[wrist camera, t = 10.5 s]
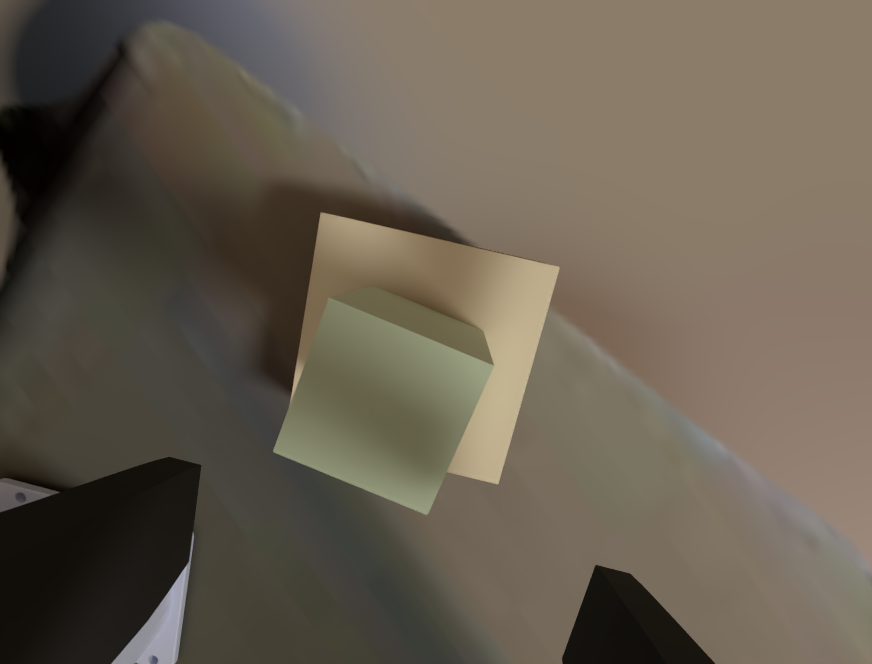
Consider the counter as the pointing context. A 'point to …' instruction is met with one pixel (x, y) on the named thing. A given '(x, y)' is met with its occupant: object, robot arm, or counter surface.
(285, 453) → the sage block
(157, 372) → the counter surface
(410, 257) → the birch base
